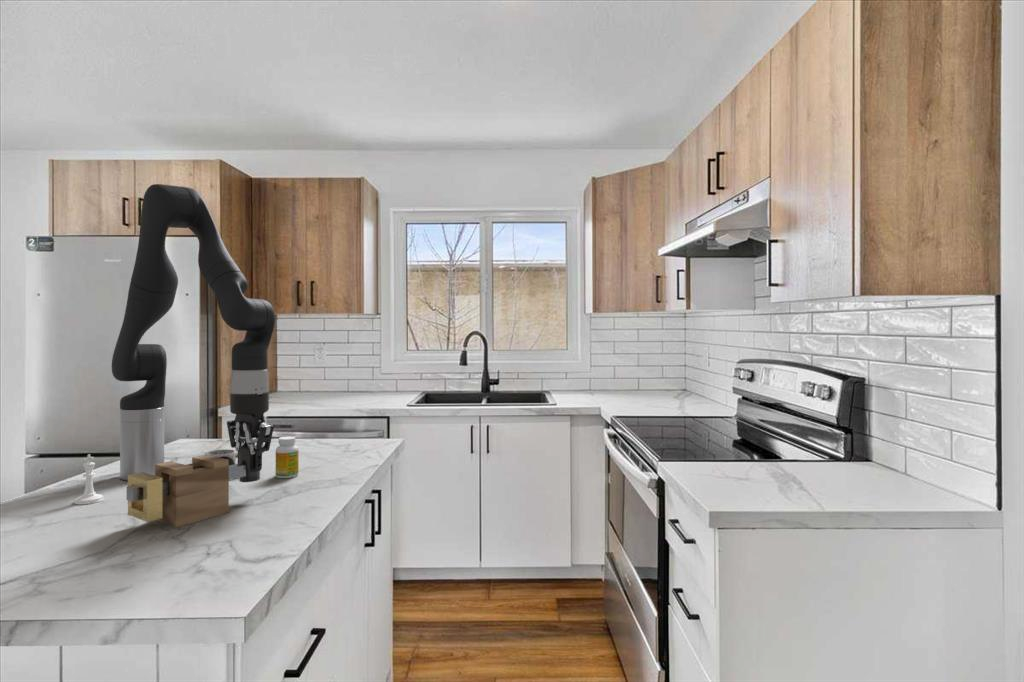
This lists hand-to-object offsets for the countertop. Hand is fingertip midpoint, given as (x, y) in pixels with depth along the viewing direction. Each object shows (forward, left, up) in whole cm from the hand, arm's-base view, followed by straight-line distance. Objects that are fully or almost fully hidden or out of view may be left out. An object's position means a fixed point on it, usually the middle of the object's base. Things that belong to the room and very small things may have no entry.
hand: (249, 469), depth 117 cm
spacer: (0, -21, -4) cm, 21 cm away
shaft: (0, -10, -2) cm, 11 cm away
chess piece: (-28, -19, -7) cm, 35 cm away
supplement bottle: (-11, +17, -7) cm, 21 cm away
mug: (-22, +8, -7) cm, 24 cm away
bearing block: (0, -12, -7) cm, 14 cm away
